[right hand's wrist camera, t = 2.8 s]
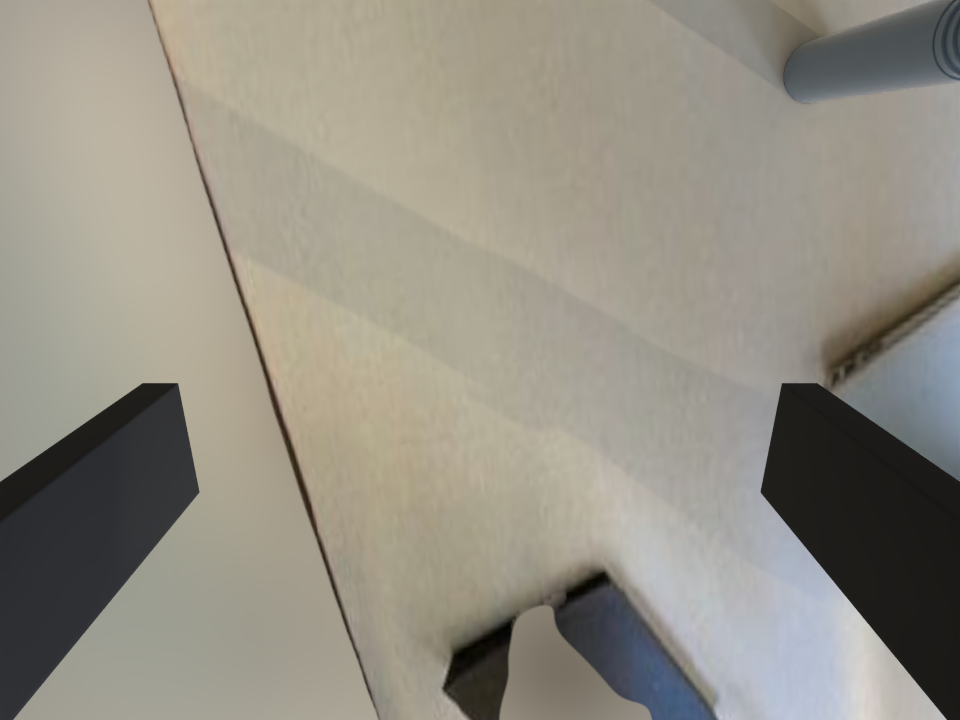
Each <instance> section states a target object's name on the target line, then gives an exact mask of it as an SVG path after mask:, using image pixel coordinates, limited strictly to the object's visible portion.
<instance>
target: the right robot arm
mask: <svg viewBox="0 0 960 720" xmlns="http://www.w3.org/2000/svg"><path fill="white" fill-rule="evenodd" d="M198 493H199V488H198V482H197V477H196V472H195V467H194V462H193V457H192V452H191V447H190V442H189V437H188V432H187V427H186V422H185V416H184V411H183V406H182V401H181V396H180V391H179V386H178V383H142V384H141V385H140V386H138V387H137V388H135V389H134V390H132V391H131V392H130V393H128V394H127V395H125V396H124V397H122V398H121V399H119V400H118V401H116V402H115V403H114V404H112V405H111V406H109V407H108V408H106V409H105V410H103V411H102V412H101V413H99V414H98V415H96V416H95V417H93V418H92V419H90V420H89V421H88V422H86V423H85V424H83V425H82V426H80V427H79V428H77V429H76V430H75V431H73V432H72V433H70V434H69V435H67V436H66V437H64V438H63V439H62V440H60V441H59V442H57V443H56V444H54V445H53V446H51V447H50V448H48V449H47V450H46V451H44V452H43V453H41V454H40V455H39V456H37V457H35V458H34V459H33V460H31V461H30V462H28V463H27V464H25V465H24V466H22V467H21V468H20V469H18V470H17V471H15V472H14V473H12V474H11V475H9V476H8V477H7V478H5V479H4V480H2V481H1V482H0V720H13V719H14V718H15V717H16V715H17V714H18V713H19V712H20V711H21V709H22V708H23V707H24V706H25V705H26V703H27V702H28V701H29V700H30V698H31V697H32V696H33V695H34V694H35V692H36V691H37V690H38V689H39V687H40V686H41V685H42V684H43V683H44V681H45V680H46V679H47V678H48V676H49V675H50V674H51V673H52V672H53V670H54V669H55V668H56V667H57V665H58V664H59V663H60V662H61V661H62V659H63V658H64V657H65V656H66V654H67V653H68V652H69V651H70V650H71V648H72V647H73V646H74V645H75V644H76V642H77V641H78V640H79V639H80V637H81V636H82V635H83V634H84V633H85V631H86V630H87V629H88V628H89V626H90V625H91V624H92V623H93V622H94V620H95V619H96V618H97V617H98V615H99V614H100V613H101V612H102V610H103V609H104V608H105V607H106V606H107V604H108V603H109V602H110V601H111V600H112V598H113V597H114V596H115V595H116V593H117V592H118V591H119V590H120V589H121V587H122V586H123V585H124V584H125V583H126V581H127V580H128V579H129V578H130V576H131V575H132V574H133V573H134V571H135V570H136V569H137V568H138V567H139V565H140V564H141V563H142V562H143V561H144V559H145V558H146V557H147V556H148V554H149V553H150V552H151V551H152V550H153V548H154V547H155V546H156V545H157V543H158V542H159V541H160V540H161V539H162V537H163V536H164V535H165V534H166V532H167V531H168V530H169V529H170V528H171V526H172V525H173V524H174V523H175V522H176V520H177V519H178V518H179V517H180V515H181V514H182V513H183V512H184V511H185V509H186V508H187V507H188V506H189V504H190V503H191V502H192V501H193V500H194V498H195V497H196V496H197V495H198ZM761 493H762V495H763V496H764V497H765V498H766V500H767V501H768V502H769V503H770V504H771V506H772V507H773V508H774V509H775V511H776V512H777V513H778V514H779V515H780V517H781V518H782V519H783V520H784V522H785V523H786V524H787V525H788V526H789V528H790V529H791V530H792V531H793V532H794V534H795V535H796V536H797V537H798V539H799V540H800V541H801V542H802V543H803V545H804V546H805V547H806V548H807V550H808V551H809V552H810V553H811V554H812V556H813V557H814V558H815V559H816V561H817V562H818V563H819V564H820V565H821V567H822V568H823V569H824V570H825V572H826V573H827V574H828V575H829V576H830V578H831V579H832V580H833V581H834V583H835V584H836V585H837V586H838V587H839V589H840V590H841V591H842V592H843V593H844V595H845V596H846V597H847V598H848V600H849V601H850V602H851V603H852V604H853V606H854V607H855V608H856V609H857V611H858V612H859V613H860V614H861V615H862V617H863V618H864V619H865V620H866V622H867V623H868V624H869V625H870V626H871V628H872V629H873V630H874V631H875V633H876V634H877V635H878V636H879V637H880V639H881V640H882V641H883V642H884V644H885V645H886V646H887V647H888V648H889V650H890V651H891V652H892V653H893V654H894V656H895V657H896V658H897V659H898V661H899V662H900V663H901V664H902V665H903V667H904V668H905V669H906V670H907V672H908V673H909V674H910V675H911V676H912V678H913V679H914V680H915V681H916V683H917V684H918V685H919V686H920V687H921V689H922V690H923V691H924V692H925V694H926V695H927V696H928V697H929V698H930V700H931V701H932V702H933V703H934V705H935V706H936V707H937V708H938V709H939V711H940V712H941V713H942V714H943V715H944V717H945V718H946V719H947V720H960V482H959V481H958V480H956V479H955V478H953V477H952V476H951V475H949V474H948V473H946V472H945V471H943V470H942V469H940V468H939V467H938V466H936V465H935V464H933V463H932V462H930V461H929V460H927V459H926V458H925V457H923V456H922V455H920V454H919V453H917V452H916V451H914V450H913V449H912V448H910V447H909V446H907V445H906V444H904V443H903V442H901V441H900V440H898V439H897V438H896V437H894V436H893V435H891V434H890V433H888V432H887V431H885V430H884V429H883V428H881V427H880V426H878V425H877V424H875V423H874V422H872V421H871V420H870V419H868V418H867V417H865V416H864V415H862V414H861V413H859V412H858V411H857V410H855V409H854V408H852V407H851V406H849V405H848V404H846V403H845V402H844V401H842V400H841V399H839V398H838V397H836V396H835V395H833V394H832V393H831V392H829V391H828V390H826V389H825V388H823V387H822V386H820V385H819V384H818V383H782V386H781V391H780V396H779V401H778V406H777V411H776V416H775V422H774V427H773V432H772V437H771V442H770V447H769V452H768V457H767V462H766V467H765V472H764V477H763V482H762V488H761Z"/></svg>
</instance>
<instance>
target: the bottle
mask: <svg viewBox="0 0 960 720" xmlns="http://www.w3.org/2000/svg"><path fill="white" fill-rule="evenodd" d="M956 82H960V0H932V1H929V2H926V3H923V4H920V5H917V6H914V7H911V8H908V9H905V10H902V11H899V12H896V13H893V14H890V15H887V16H883V17H880V18H877V19H874V20H871V21H868V22H865V23H862V24H859V25H856V26H853V27H850V28H847V29H844V30H841V31H838V32H835V33H832V34H829V35H826V36H823V37H820V38H817V39H814V40H811V41H808V42H806V43H804V44H802V45H801V46H800V47H798V48H797V49H796V50H795V51H794V52H793V53H792V55H791V56H790V58H789V60H788V62H787V64H786V67H785V70H784V84H785V88H786V90H787V92H788V94H789V95H790V96H791V97H792V98H793V99H794V100H796V101H798V102H801V103H815V102H822V101H829V100H836V99H843V98H850V97H857V96H864V95H871V94H878V93H885V92H892V91H899V90H907V89H914V88H921V87H928V86H935V85H942V84H949V83H956Z"/></svg>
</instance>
